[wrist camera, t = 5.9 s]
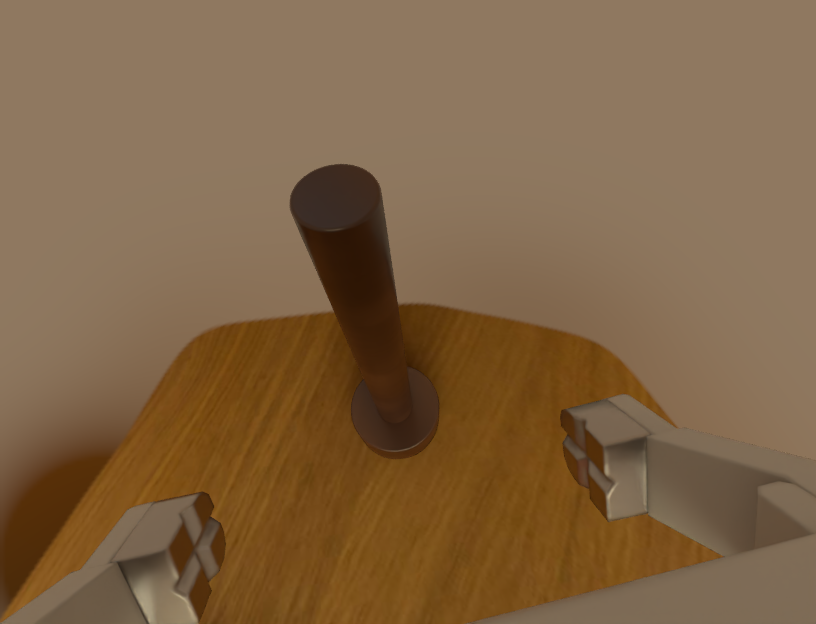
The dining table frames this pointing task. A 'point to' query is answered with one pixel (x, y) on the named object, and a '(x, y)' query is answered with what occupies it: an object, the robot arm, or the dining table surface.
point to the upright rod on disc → (365, 305)
